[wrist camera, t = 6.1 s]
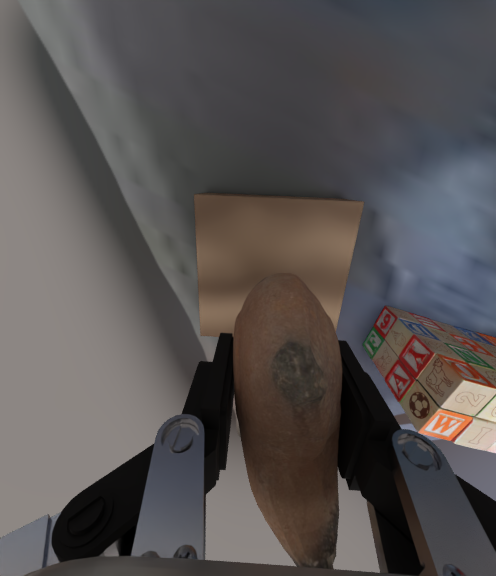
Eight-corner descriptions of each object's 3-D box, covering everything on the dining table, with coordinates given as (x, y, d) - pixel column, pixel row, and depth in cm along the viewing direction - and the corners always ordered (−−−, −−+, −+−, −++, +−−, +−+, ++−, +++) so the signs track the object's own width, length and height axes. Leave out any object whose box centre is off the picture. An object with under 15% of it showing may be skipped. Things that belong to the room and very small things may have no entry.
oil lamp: (321, 393, 14) (391, 613, 7) (255, 399, 15) (254, 615, 7) (311, 248, 11) (426, 377, 3) (225, 262, 11) (167, 403, 4)
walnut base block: (206, 192, 24) (194, 194, 20) (343, 198, 24) (364, 201, 19) (209, 312, 30) (200, 335, 25) (321, 318, 29) (332, 343, 25)
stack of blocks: (537, 348, 30) (705, 445, 19) (503, 383, 33) (634, 488, 21) (383, 304, 29) (466, 381, 17) (359, 345, 31) (418, 436, 20)
